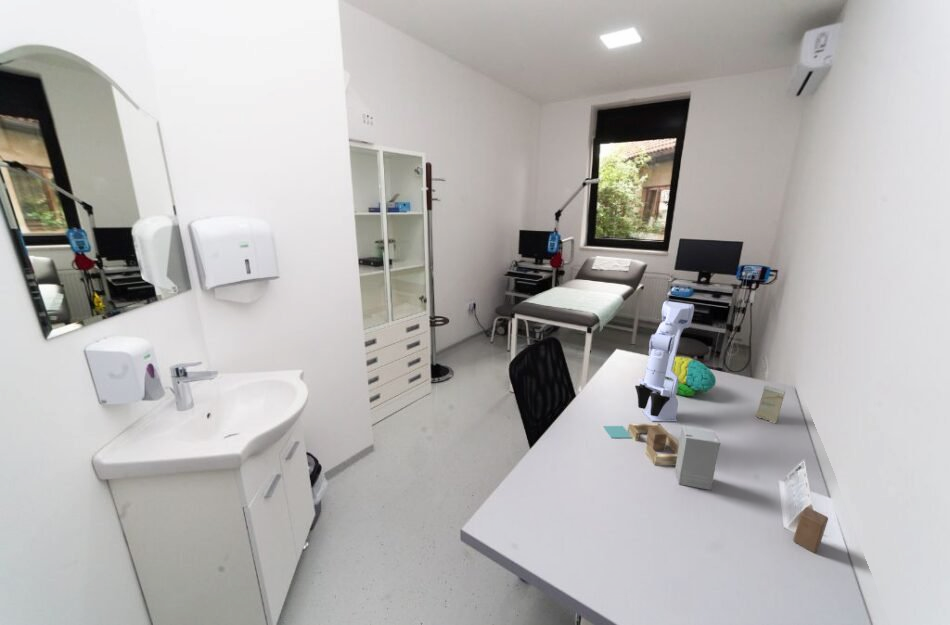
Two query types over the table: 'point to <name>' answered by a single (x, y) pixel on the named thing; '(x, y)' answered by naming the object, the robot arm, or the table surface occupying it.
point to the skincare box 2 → (770, 403)
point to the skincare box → (697, 457)
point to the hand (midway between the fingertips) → (647, 411)
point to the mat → (617, 432)
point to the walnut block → (656, 438)
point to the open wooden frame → (653, 456)
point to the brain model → (692, 376)
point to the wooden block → (810, 529)
